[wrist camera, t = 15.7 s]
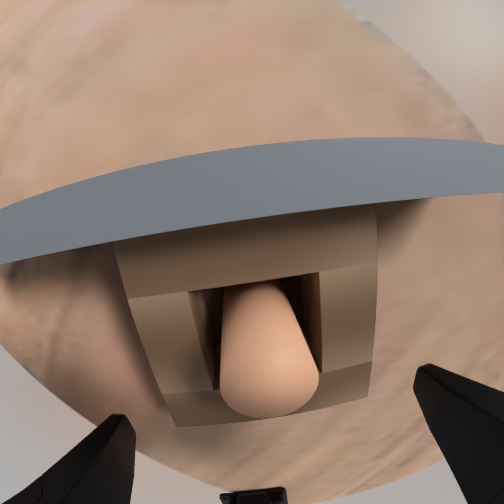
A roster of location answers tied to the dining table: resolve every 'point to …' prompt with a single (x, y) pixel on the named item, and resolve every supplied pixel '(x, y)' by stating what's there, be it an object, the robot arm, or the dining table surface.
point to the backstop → (246, 189)
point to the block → (245, 271)
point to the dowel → (263, 352)
